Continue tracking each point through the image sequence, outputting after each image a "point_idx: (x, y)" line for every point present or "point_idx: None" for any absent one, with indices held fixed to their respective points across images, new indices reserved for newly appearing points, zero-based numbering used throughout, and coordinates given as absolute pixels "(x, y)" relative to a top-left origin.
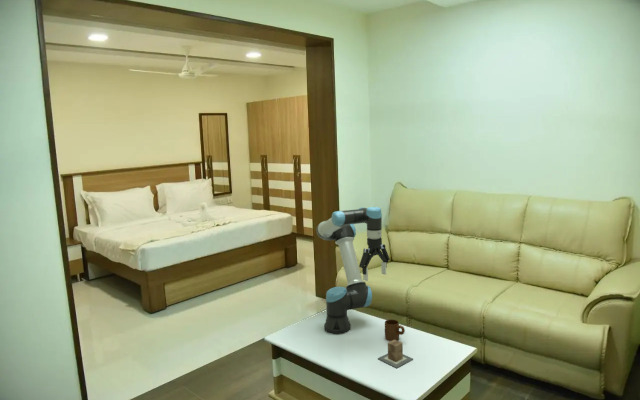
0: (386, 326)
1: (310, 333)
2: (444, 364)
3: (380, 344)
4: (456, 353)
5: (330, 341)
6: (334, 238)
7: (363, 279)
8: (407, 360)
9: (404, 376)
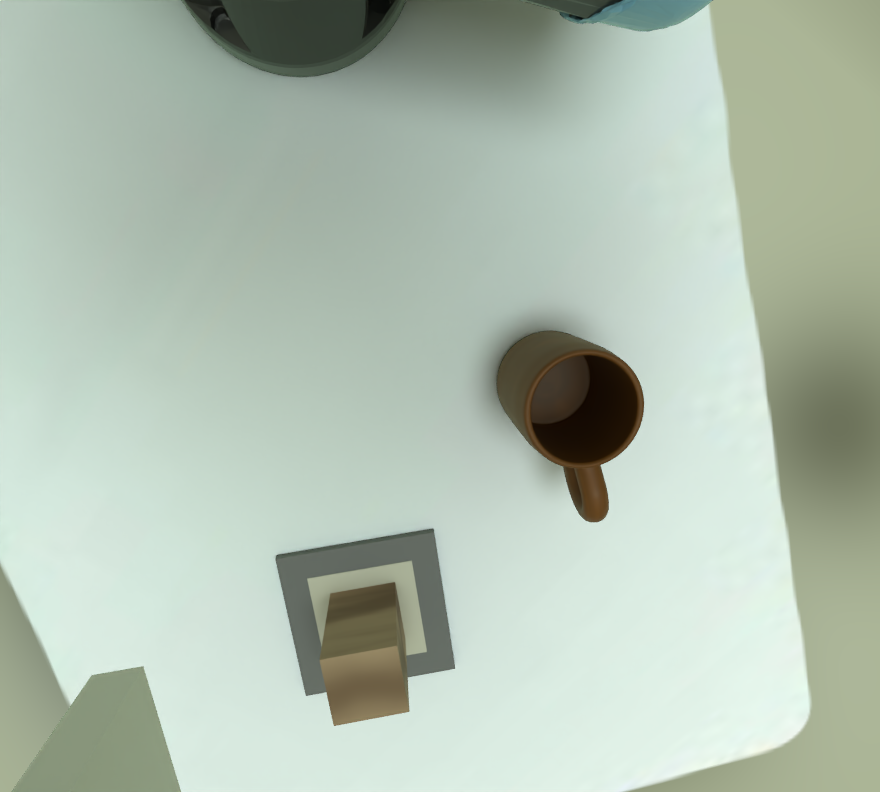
0: (517, 407)
1: None
2: (557, 775)
3: (420, 403)
4: (702, 725)
5: (114, 133)
6: None
7: (91, 687)
8: (413, 667)
9: (292, 766)
